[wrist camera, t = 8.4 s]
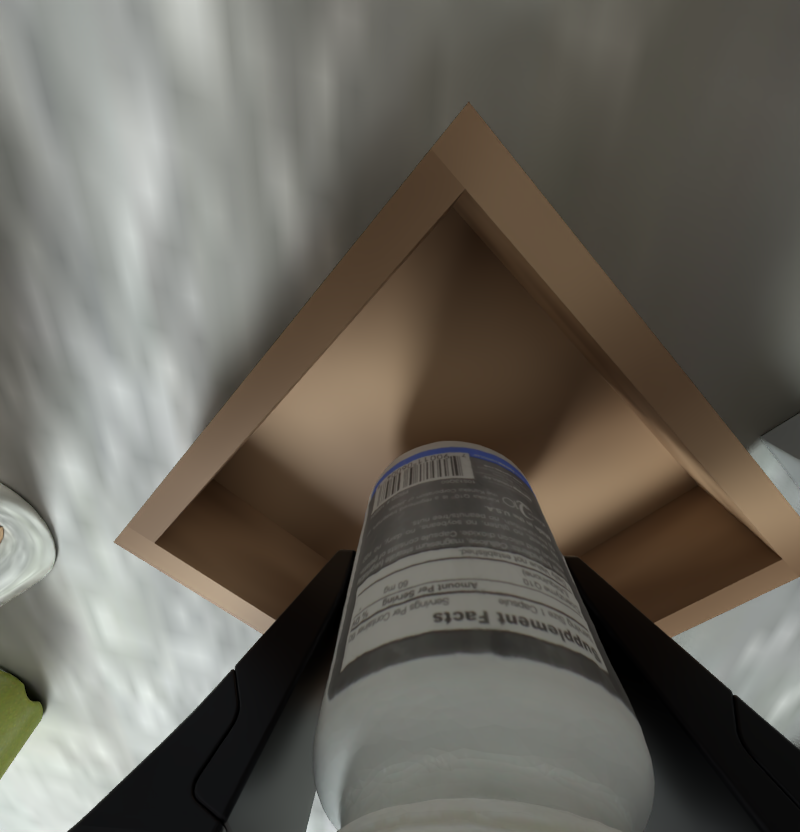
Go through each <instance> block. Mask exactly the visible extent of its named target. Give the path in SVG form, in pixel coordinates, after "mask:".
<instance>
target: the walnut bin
mask: <svg viewBox="0 0 800 832" xmlns="http://www.w3.org/2000/svg"><path fill="white" fill-rule="evenodd" d="M439 441H460V442H467V443H473V444H477V445H481V446H483V447H486V448H489V449H491V450H494V451H496V452H497V453H499V454H501V455H503V456H505V457H506V458H507V459H509V460H510V461H512V462H513V463H514V464H515V465H516V466H517V467H518V468H519V469H520V470H521V472H522V473H523V474H524V476H525V477H526V479H527V481H528V482H529V484H530V486H531V488H532V490H533V492H534V494H535V496H536V498H537V501H538V503H539V505H540V508H541V510H542V513H543V515H544V517H545V519H546V521H547V523H548V525H549V527H550V530H551V532H552V534H553V536H554V538H555V541H556V544H557V546H558V548H559V550H560V552H561V553H562V555H564V556H577V557H579V558H580V559H581V560H583V561H584V562H585V563H586V564H587V565H588V566H589V567H591V568H592V569H593V570H594V571H595V572H596V573H597V574H599V575H600V576H601V577H602V578H603V579H604V580H605V581H607V582H608V583H609V584H610V585H611V586H612V587H613V588H614V589H616V590H617V591H618V592H619V593H620V594H621V595H622V596H624V597H625V598H626V599H627V600H628V601H629V602H630V603H632V604H633V605H634V606H635V607H636V608H637V609H638V610H640V611H641V612H642V613H643V614H644V615H645V616H646V617H648V618H649V619H650V620H651V621H652V622H653V623H654V624H656V625H657V626H658V627H659V628H660V629H661V630H662V631H664V632H665V633H666V634H667V635H668V636H669V637H670V638H671V637H673V636H676V635H678V634H680V633H682V632H684V631H686V630H688V629H690V628H692V627H695V626H697V625H699V624H701V623H703V622H705V621H707V620H709V619H712V618H714V617H716V616H718V615H720V614H722V613H724V612H726V611H728V610H731V609H733V608H735V607H737V606H739V605H741V604H743V603H745V602H747V601H750V600H752V599H754V598H756V597H758V596H760V595H762V594H764V593H767V592H769V591H771V590H773V589H775V588H777V587H779V586H781V585H783V584H786V583H788V582H790V581H792V580H794V579H796V578H798V577H800V517H799V515H798V514H797V513H796V512H795V510H794V509H793V508H792V507H791V505H790V504H789V503H788V502H787V500H786V499H785V498H784V496H783V495H782V494H781V493H780V491H779V490H778V489H777V488H776V486H775V485H774V484H773V483H772V481H771V480H770V479H769V478H768V476H767V475H766V474H765V473H764V471H763V470H762V469H761V468H760V466H759V465H758V464H757V463H756V461H755V460H754V459H753V458H752V456H751V455H750V454H749V453H748V451H747V450H746V449H745V448H744V446H743V445H742V444H741V443H740V441H739V440H738V439H737V438H736V436H735V435H734V434H733V433H732V431H731V430H730V429H729V427H728V426H727V425H726V424H725V422H724V421H723V420H722V419H721V417H720V416H719V415H718V414H717V412H716V411H715V410H714V409H713V407H712V406H711V405H710V404H709V402H708V401H707V400H706V399H705V397H704V396H703V395H702V394H701V392H700V391H699V390H698V389H697V387H696V386H695V385H694V384H693V382H692V381H691V380H690V379H689V377H688V376H687V375H686V374H685V372H684V371H683V370H682V369H681V367H680V366H679V365H678V364H677V362H676V361H675V360H674V359H673V357H672V356H671V355H670V353H669V352H668V351H667V350H666V348H665V347H664V346H663V345H662V343H661V342H660V341H659V340H658V338H657V337H656V336H655V335H654V333H653V332H652V331H651V330H650V328H649V327H648V326H647V325H646V323H645V322H644V321H643V320H642V318H641V317H640V316H639V315H638V313H637V312H636V311H635V310H634V308H633V307H632V306H631V305H630V303H629V302H628V301H627V300H626V298H625V297H624V296H623V295H622V293H621V292H620V291H619V290H618V288H617V287H616V286H615V284H614V283H613V282H612V281H611V279H610V278H609V277H608V276H607V274H606V273H605V272H604V271H603V269H602V268H601V267H600V266H599V264H598V263H597V262H596V261H595V259H594V258H593V257H592V256H591V254H590V253H589V252H588V251H587V249H586V248H585V247H584V246H583V244H582V243H581V242H580V241H579V239H578V238H577V237H576V236H575V234H574V233H573V232H572V231H571V229H570V228H569V227H568V226H567V224H566V223H565V222H564V221H563V219H562V218H561V217H560V215H559V214H558V213H557V212H556V210H555V209H554V208H553V207H552V205H551V204H550V203H549V202H548V200H547V199H546V198H545V197H544V195H543V194H542V193H541V192H540V190H539V189H538V188H537V187H536V185H535V184H534V183H533V182H532V180H531V179H530V178H529V177H528V175H527V174H526V173H525V172H524V170H523V169H522V168H521V167H520V165H519V164H518V163H517V162H516V160H515V159H514V158H513V157H512V155H511V154H510V153H509V152H508V150H507V149H506V148H505V146H504V145H503V144H502V143H501V141H500V140H499V139H498V138H497V136H496V135H495V134H494V133H493V131H492V130H491V129H490V128H489V126H488V125H487V124H486V123H485V121H484V120H483V119H482V118H481V116H480V115H479V114H478V113H477V111H476V110H475V109H474V108H473V106H472V105H471V104H470V103H469V102H468V103H467V104H466V106H465V107H464V108H463V109H462V111H461V112H460V113H459V114H458V116H457V117H456V118H455V119H454V121H453V122H452V123H451V124H450V125H449V127H448V128H447V129H446V130H445V132H444V133H443V134H442V135H441V137H440V138H439V139H438V140H437V142H436V143H435V144H434V145H433V147H432V148H431V149H430V150H429V152H428V153H427V154H426V155H425V156H424V158H423V159H422V160H421V161H420V163H419V164H418V165H417V166H416V168H415V169H414V170H413V171H412V173H411V174H410V175H409V176H408V178H407V179H406V180H405V181H404V183H403V184H402V185H401V186H400V187H399V189H398V190H397V191H396V192H395V194H394V195H393V196H392V197H391V199H390V200H389V201H388V202H387V204H386V205H385V206H384V207H383V209H382V210H381V211H380V212H379V214H378V215H377V216H376V217H375V218H374V220H373V221H372V222H371V223H370V225H369V226H368V227H367V228H366V230H365V231H364V232H363V233H362V235H361V236H360V237H359V238H358V240H357V241H356V242H355V243H354V245H353V246H352V247H351V248H350V249H349V251H348V252H347V253H346V254H345V256H344V257H343V258H342V259H341V261H340V262H339V263H338V264H337V266H336V267H335V268H334V269H333V271H332V272H331V273H330V274H329V276H328V277H327V278H326V279H325V280H324V282H323V283H322V284H321V285H320V287H319V288H318V289H317V290H316V292H315V293H314V294H313V295H312V297H311V298H310V299H309V300H308V302H307V303H306V304H305V305H304V307H303V308H302V309H301V310H300V311H299V313H298V314H297V315H296V316H295V318H294V319H293V320H292V321H291V323H290V324H289V325H288V326H287V328H286V329H285V330H284V331H283V333H282V334H281V335H280V336H279V338H278V339H277V340H276V341H275V342H274V344H273V345H272V346H271V347H270V349H269V350H268V351H267V352H266V354H265V355H264V356H263V357H262V359H261V360H260V361H259V362H258V364H257V365H256V366H255V367H254V369H253V370H252V371H251V372H250V373H249V375H248V376H247V377H246V378H245V380H244V381H243V382H242V383H241V385H240V386H239V387H238V388H237V390H236V391H235V392H234V393H233V395H232V396H231V397H230V398H229V400H228V401H227V402H226V403H225V404H224V406H223V407H222V408H221V409H220V411H219V412H218V413H217V414H216V416H215V417H214V418H213V419H212V421H211V422H210V423H209V424H208V426H207V427H206V428H205V429H204V431H203V432H202V433H201V434H200V436H199V437H198V438H197V439H196V440H195V442H194V443H193V444H192V445H191V447H190V448H189V449H188V450H187V452H186V453H185V454H184V455H183V457H182V458H181V459H180V460H179V462H178V463H177V464H176V465H175V467H174V468H173V469H172V470H171V471H170V473H169V474H168V475H167V476H166V478H165V479H164V480H163V481H162V483H161V484H160V485H159V486H158V488H157V489H156V490H155V491H154V493H153V494H152V495H151V496H150V498H149V499H148V500H147V501H146V502H145V504H144V505H143V506H142V507H141V509H140V510H139V511H138V512H137V514H136V515H135V516H134V517H133V519H132V520H131V521H130V522H129V524H128V525H127V526H126V527H125V529H124V530H123V531H122V532H121V533H120V535H119V536H118V537H117V538H116V540H115V541H114V543H116V544H117V545H119V546H121V547H122V548H124V549H125V550H127V551H129V552H130V553H132V554H134V555H135V556H137V557H138V558H140V559H142V560H143V561H145V562H147V563H148V564H150V565H151V566H153V567H155V568H156V569H158V570H159V571H161V572H163V573H164V574H166V575H168V576H169V577H171V578H172V579H174V580H176V581H177V582H179V583H181V584H182V585H184V586H185V587H187V588H189V589H190V590H192V591H194V592H195V593H197V594H198V595H200V596H202V597H203V598H205V599H207V600H208V601H210V602H211V603H213V604H215V605H216V606H218V607H220V608H221V609H223V610H224V611H226V612H228V613H229V614H231V615H232V616H234V617H236V618H237V619H239V620H241V621H242V622H244V623H245V624H247V625H249V626H250V627H252V628H254V629H255V630H257V631H258V632H260V633H262V634H264V633H265V632H266V631H267V630H268V629H269V627H270V626H271V625H272V624H273V623H274V622H275V621H276V620H277V618H278V617H279V616H280V615H281V614H282V613H283V612H284V611H285V610H286V608H287V607H288V606H289V605H290V604H291V603H292V602H293V601H294V599H295V598H296V597H297V596H298V595H299V594H300V593H301V592H302V590H303V589H304V588H305V587H306V586H307V585H308V584H309V583H310V582H311V580H312V579H313V578H314V577H315V576H316V575H317V574H318V573H319V571H320V570H321V569H322V568H323V567H324V566H325V565H326V564H327V562H328V561H329V560H330V559H331V558H332V557H333V556H334V555H335V554H336V552H337V551H339V550H341V549H344V550H355V551H356V552H357V548H358V544H359V539H360V535H361V531H362V527H363V524H364V518H365V513H366V510H367V506H368V502H369V497H370V494H371V492H372V489H373V487H374V485H375V483H376V482H377V480H378V478H379V477H380V475H381V474H382V473H383V471H384V470H385V469H386V468H387V467H388V466H389V465H390V464H391V463H392V462H393V461H394V460H395V459H396V458H398V457H399V456H401V455H402V454H404V453H406V452H408V451H410V450H412V449H415V448H417V447H420V446H423V445H427V444H430V443H434V442H439Z"/></svg>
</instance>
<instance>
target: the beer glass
mask: <svg viewBox="0 0 800 832" xmlns="http://www.w3.org/2000/svg"><path fill="white" fill-rule="evenodd" d="M55 557H56V550H55V543H54V540H53V537H52V534H51V532H50V530H49V528H48V527H47V525H46V523H45V522H44V520H43V519H42V518H41V516H40V515H39V514H38V513H37V512H36V510H35V509H34V508H33V507H32V506H31V505H30V504H29V503H28V502H26V501H25V500H24V499H23V498H22V497H21V496H19V495H18V494H17V493H15V492H14V491H13V490H11V489H10V488H8V487H7V486H5V485H3V484H2V483H0V607H1V606H2V605H4V604H5V603H7V602H8V601H10V600H12V599H13V598H15V597H16V596H18V595H19V594H21V593H23V592H24V591H26V590H27V589H29V588H30V587H32V586H33V585H35V584H36V583H38V582H39V581H40V580H42V579H43V578H44V577H45V576H46V575H47V574H48V573H49V572H50V570H51V569H52V567H53V565H54V562H55Z"/></svg>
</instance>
